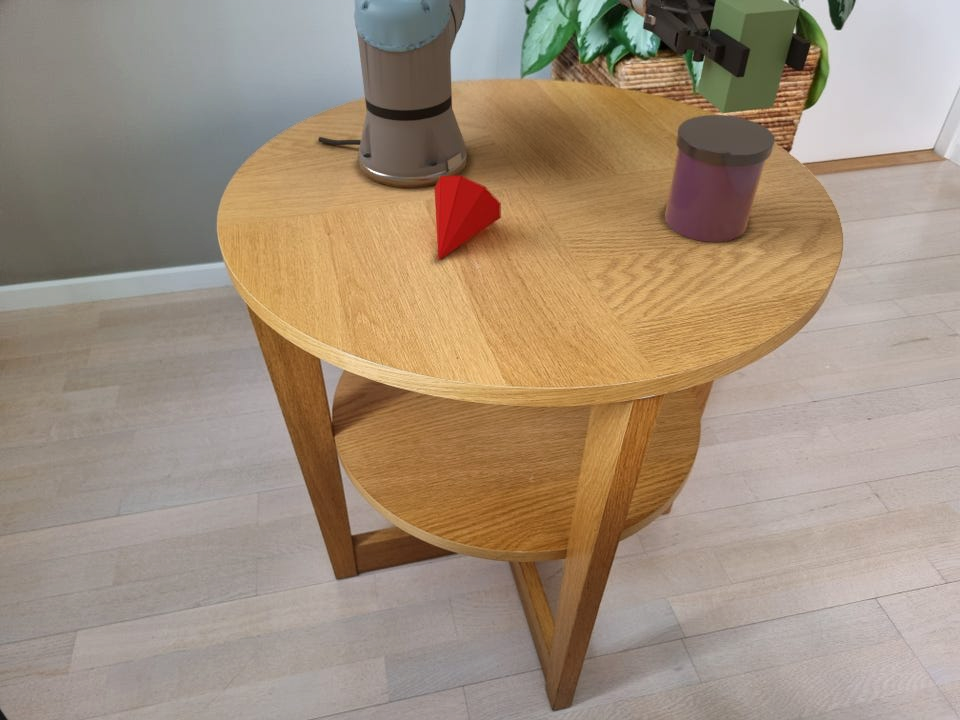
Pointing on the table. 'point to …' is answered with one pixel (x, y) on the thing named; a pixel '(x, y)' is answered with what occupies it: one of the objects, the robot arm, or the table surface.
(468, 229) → the gemstone
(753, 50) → the green block
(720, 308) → the table surface
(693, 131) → the jar
